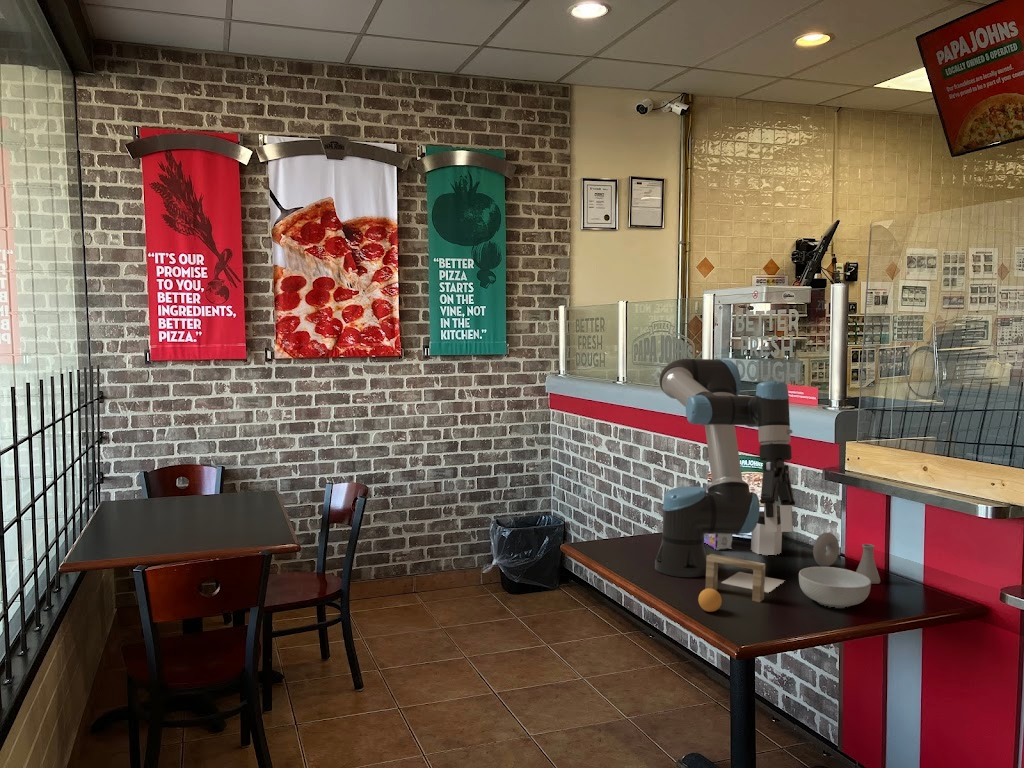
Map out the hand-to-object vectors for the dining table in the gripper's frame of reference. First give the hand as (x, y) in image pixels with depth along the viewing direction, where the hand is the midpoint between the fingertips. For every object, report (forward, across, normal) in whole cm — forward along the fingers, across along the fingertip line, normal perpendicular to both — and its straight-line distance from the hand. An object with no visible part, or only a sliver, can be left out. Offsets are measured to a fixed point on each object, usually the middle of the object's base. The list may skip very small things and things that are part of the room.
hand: (779, 532), depth 200 cm
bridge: (+16, +10, +15) cm, 24 cm away
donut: (+10, +52, +1) cm, 53 cm away
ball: (+16, -6, +16) cm, 24 cm away
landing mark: (+14, +24, +14) cm, 31 cm away
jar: (+7, +57, +20) cm, 60 cm away
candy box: (+5, +55, +36) cm, 66 cm away
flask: (+14, +44, -11) cm, 48 cm away
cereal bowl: (+18, +19, -7) cm, 27 cm away
